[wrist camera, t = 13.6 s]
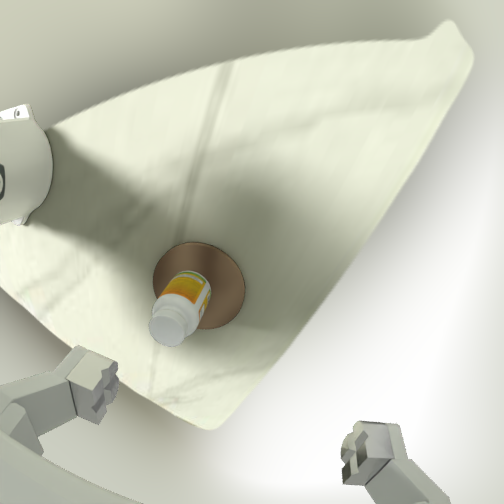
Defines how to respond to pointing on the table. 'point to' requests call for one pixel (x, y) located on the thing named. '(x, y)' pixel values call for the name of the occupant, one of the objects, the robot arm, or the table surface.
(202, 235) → the table surface
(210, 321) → the walnut coaster
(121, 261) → the table surface
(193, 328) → the supplement bottle
